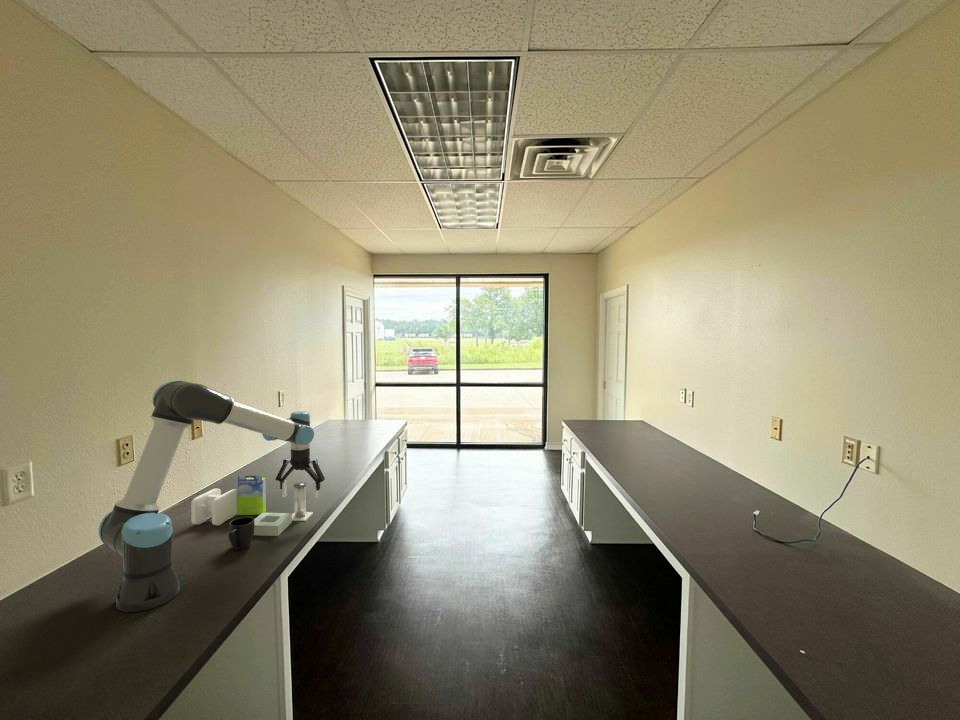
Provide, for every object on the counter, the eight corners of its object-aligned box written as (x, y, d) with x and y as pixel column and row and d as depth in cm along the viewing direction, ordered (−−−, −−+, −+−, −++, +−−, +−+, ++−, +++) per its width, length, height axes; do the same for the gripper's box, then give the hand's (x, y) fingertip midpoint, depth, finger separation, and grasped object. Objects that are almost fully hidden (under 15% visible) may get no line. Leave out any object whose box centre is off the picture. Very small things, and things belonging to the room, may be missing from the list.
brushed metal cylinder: (303, 518, 187) (303, 486, 186) (291, 517, 187) (291, 485, 186) (308, 513, 192) (308, 482, 191) (296, 513, 192) (296, 481, 191)
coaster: (305, 521, 186) (305, 519, 186) (286, 520, 186) (286, 519, 186) (313, 513, 194) (313, 512, 194) (295, 512, 194) (295, 511, 194)
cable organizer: (214, 529, 176) (214, 500, 176) (190, 527, 177) (189, 499, 177) (239, 514, 191) (238, 487, 190) (216, 512, 192) (216, 486, 192)
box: (266, 511, 195) (266, 472, 194) (262, 515, 191) (262, 475, 190) (241, 511, 194) (240, 473, 193) (237, 515, 189) (236, 476, 188)
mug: (218, 556, 155) (217, 530, 154) (237, 540, 167) (237, 516, 166) (241, 557, 155) (241, 531, 154) (258, 541, 167) (258, 517, 166)
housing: (278, 535, 172) (278, 525, 172) (247, 534, 172) (247, 524, 172) (291, 522, 184) (291, 513, 184) (263, 521, 184) (263, 512, 184)
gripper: (332, 446, 192) (332, 494, 193) (275, 445, 192) (275, 492, 193) (326, 451, 184) (326, 501, 185) (266, 449, 184) (266, 499, 186)
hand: (300, 497), depth 189 cm, fingers open, 13 cm apart
